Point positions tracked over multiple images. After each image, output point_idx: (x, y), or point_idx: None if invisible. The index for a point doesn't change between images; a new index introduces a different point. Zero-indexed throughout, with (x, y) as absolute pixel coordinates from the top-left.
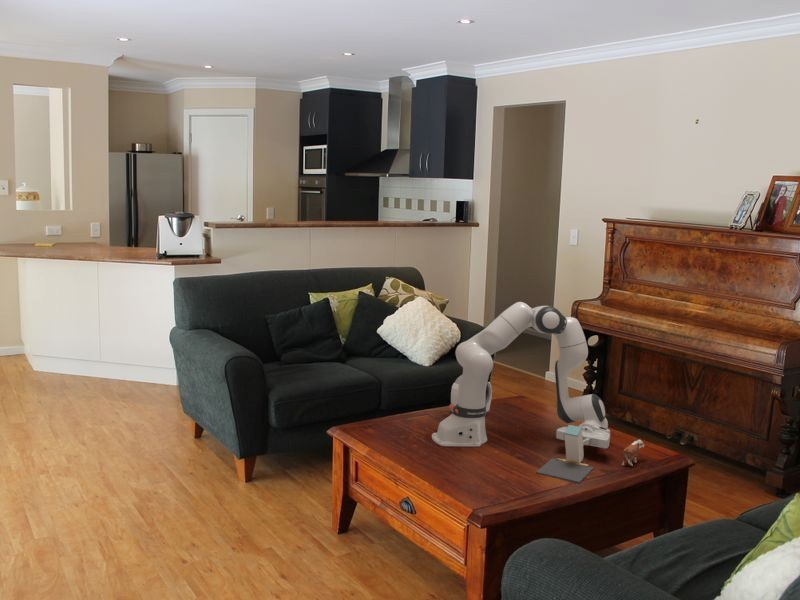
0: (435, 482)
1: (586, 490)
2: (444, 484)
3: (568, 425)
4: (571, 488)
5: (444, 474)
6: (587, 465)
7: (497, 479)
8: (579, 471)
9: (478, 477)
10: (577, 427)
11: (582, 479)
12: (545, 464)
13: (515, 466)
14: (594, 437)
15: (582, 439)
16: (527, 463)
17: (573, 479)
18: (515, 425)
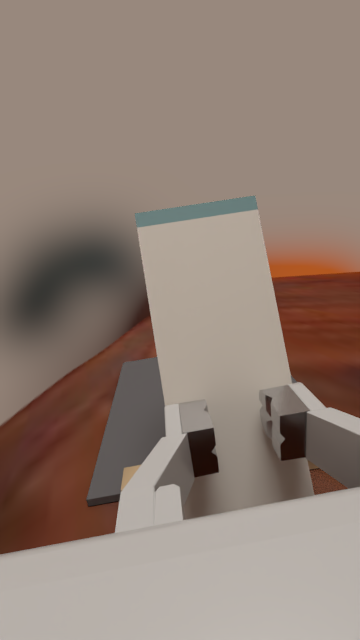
0: (323, 276)
1: (98, 355)
2: (309, 278)
3: (251, 201)
4: (135, 345)
5: (352, 281)
6: (124, 474)
7: (281, 304)
8: (146, 409)
9: (310, 295)
10: (170, 215)
11: (119, 380)
12: (293, 380)
13: (338, 338)
14: (5, 561)
15: (156, 350)
16: (351, 364)
17: (143, 362)
18: None
